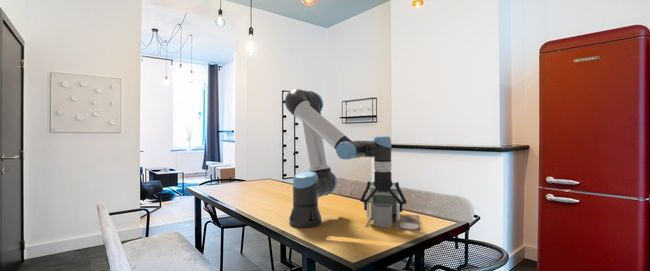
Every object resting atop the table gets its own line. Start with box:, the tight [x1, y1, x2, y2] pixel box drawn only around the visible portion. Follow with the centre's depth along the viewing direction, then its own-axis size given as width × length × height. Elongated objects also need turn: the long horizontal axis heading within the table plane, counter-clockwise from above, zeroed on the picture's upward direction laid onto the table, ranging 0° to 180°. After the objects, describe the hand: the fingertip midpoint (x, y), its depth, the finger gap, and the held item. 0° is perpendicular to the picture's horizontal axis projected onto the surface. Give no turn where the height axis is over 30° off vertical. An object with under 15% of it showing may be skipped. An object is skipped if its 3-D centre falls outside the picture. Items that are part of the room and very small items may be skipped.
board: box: [364, 213, 421, 232], centre depth 149 cm, size 23×26×2 cm
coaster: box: [399, 223, 419, 229], centre depth 140 cm, size 9×9×1 cm
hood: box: [369, 186, 401, 221], centre depth 156 cm, size 13×12×15 cm
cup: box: [372, 203, 393, 228], centre depth 143 cm, size 8×8×10 cm
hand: (383, 218), depth 143 cm, fingers open, 13 cm apart
